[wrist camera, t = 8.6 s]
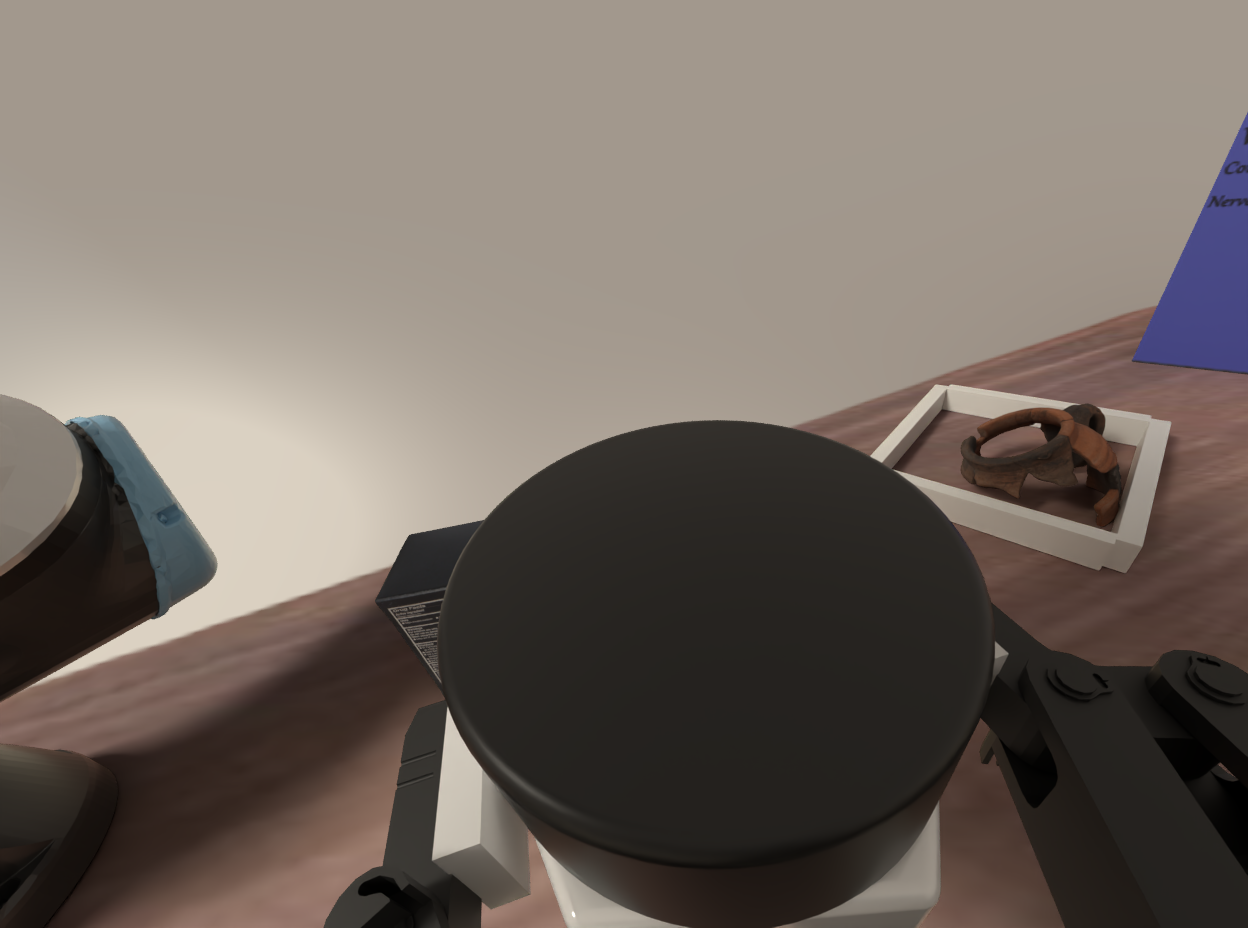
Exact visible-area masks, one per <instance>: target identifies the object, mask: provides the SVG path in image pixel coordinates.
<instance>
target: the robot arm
mask: <svg viewBox="0 0 1248 928" xmlns="http://www.w3.org/2000/svg"><path fill="white" fill-rule="evenodd" d="M216 570H217V559H216V557H215V555H214V553H213V552H212V550H211V548H210V547H209V545H208V544H207V542H206V541H205V540H204V538H203V537H202V535H201V534H200V532H199V531H198V529H197V528H196V527H195V525H194V524H193V522H192V521H191V520H190V518H189V517H188V515H187V514H186V512H185V511H184V510H183V508H182V506H181V505H180V504H179V502H178V501H177V499H176V498H175V496H174V495H173V494H172V492H171V491H170V489H169V488H168V487H167V485H166V484H165V483H164V481H163V479H162V478H161V477H160V475H159V474H158V472H157V471H156V470H155V468H154V467H153V465H152V464H151V463H150V461H149V460H148V459H147V457H146V455H145V454H144V453H143V451H142V450H141V448H140V447H139V446H138V444H137V443H136V441H135V440H134V439H133V437H132V436H131V435H130V433H129V432H128V430H127V429H126V428H125V426H124V425H123V424H122V423H121V422H120V421H118V420H117V419H116V418H115V417H111V416H105V415H99V416H94V417H89V418H83V417H77V418H75V419H70V420H68V421H67V422H66V423H65V425H64V424H63V423H62V422H60V421H59V420H58V419H56V418H55V417H54V416H52V415H50V414H49V413H47V412H46V411H44V410H42V409H41V408H39V407H37V406H34V405H32V404H30V403H27V402H25V401H23V400H20V399H16V398H12V397H9V396H5V395H0V702H2V701H4V700H5V699H7V698H9V697H11V696H13V695H14V694H16V693H18V692H20V691H22V690H23V689H25V688H27V687H29V686H31V685H32V684H34V683H36V682H38V681H39V680H41V679H43V678H45V677H47V676H48V675H50V674H52V673H53V672H56V671H57V670H59V669H61V668H63V667H64V666H66V665H68V664H70V663H72V662H73V661H75V660H77V659H78V658H80V657H82V656H84V655H86V654H88V653H90V652H91V651H93V650H95V649H96V648H98V647H100V646H102V645H104V644H106V643H107V642H109V641H111V640H113V639H114V638H116V637H118V636H120V635H122V634H124V633H125V632H127V631H129V630H131V629H133V628H134V627H136V626H138V625H140V624H142V623H143V622H145V621H147V620H149V619H156V618H159V617H161V616H163V615H164V614H165V613H166V612H167V611H168V610H169V608H170V607H172V606H173V605H175V604H177V603H178V602H180V601H181V600H183V599H185V598H186V597H188V596H190V595H191V594H193V593H194V592H196V591H198V590H199V589H201V588H202V587H204V586H205V585H207V584H208V583H209V582H210V581H211V580H212V578H213V577H214V575H215V573H216ZM991 605H992V611H993V618H994V625H995V661H994V669H993V676H992V682H991V686H990V690H989V694H988V697H987V701H986V704H985V707H984V709H983V712H982V714H981V719H982V720H983V721H984V722H985V723H986V724H987V725H988V726H989V727H990V728H991V729H990V731H989V733H988V735H987V736H986V738H985V740H984V742H983V744H982V747H981V749H980V757H981V763H983V764H988V763H989V761H990V760H991V758H992V756H993V755H994V754H995V756H996V759H997V762H996V764H997V766H1000V769H1001V771H1002V774H1003V776H1004V779H1005V781H1006V783H1007V786H1008V788H1009V791H1010V793H1011V796H1012V798H1013V801H1014V803H1015V806H1016V808H1017V810H1018V813H1019V815H1020V818H1021V820H1022V823H1023V825H1024V828H1025V830H1026V833H1027V835H1028V837H1029V840H1030V842H1031V845H1032V847H1033V850H1034V852H1035V855H1036V857H1037V860H1038V862H1039V864H1040V867H1041V869H1042V872H1043V874H1044V877H1045V879H1046V882H1047V884H1048V886H1049V889H1050V891H1051V894H1052V896H1053V899H1054V901H1055V904H1056V906H1057V909H1058V911H1059V913H1060V916H1061V918H1062V921H1063V923H1064V926H1065V928H1248V674H1247V673H1246V672H1244V671H1243V670H1241V669H1239V668H1238V667H1236V666H1234V665H1232V664H1230V663H1228V662H1225V661H1223V660H1221V659H1219V658H1216V657H1214V656H1211V655H1207V654H1203V653H1199V652H1196V651H1187V650H1173V651H1171V652H1168V653H1165V654H1163V655H1162V656H1161V657H1160V659H1159V660H1158V661H1157V662H1156V663H1155V665H1154V666H1153V667H1141V666H1095V665H1093V664H1091V663H1090V662H1088V661H1086V660H1083V659H1081V658H1079V657H1076V656H1074V655H1072V654H1068V653H1063V652H1058V651H1051V650H1049V649H1048V648H1046V647H1045V646H1044V645H1042V644H1041V643H1039V642H1038V641H1037V640H1035V639H1034V638H1033V637H1032V636H1031V635H1029V634H1028V633H1027V632H1026V631H1025V630H1024V629H1022V628H1021V627H1020V626H1019V625H1018V624H1016V623H1015V622H1014V621H1013V620H1012V619H1010V618H1009V617H1008V616H1007V615H1006V614H1004V613H1003V612H1002V611H1001V610H1000V609H998V608H997V607H996V606H995V605H994V604H992V603H991ZM1220 762H1221V763H1222V764H1223V765H1224V766H1225V767H1226V768H1227V769H1228V770H1229V771H1230V772H1231V773H1232V774H1233V775H1234V776H1235V777H1234V776H1232V775H1230V774H1228V773H1227V772H1226V771H1225V770H1223V769H1222V768H1221V767H1220V766H1219V765H1218V764H1219V763H1220ZM401 764H402V765H401V767H400V769H399V775H398V781H397V786H398V788H397V790H396V792H395V798H394V804H393V809H392V815H391V821H390V826H389V832H388V838H387V844H386V849H385V855H384V861H383V866H381V867H376V868H372V869H371V870H369V871H368V872H366V873H364V874H363V875H361V876H360V877H358V878H357V879H355V881H354V882H353V883H352V884H351V885H350V886H349V887H348V888H347V889H346V890H345V891H344V893H343V894H342V895H341V896H340V897H339V899H338V900H337V902H336V904H335V905H334V907H333V909H332V911H331V912H330V914H329V916H328V917H327V919H326V922H325V925H324V928H481V904H482V902H483V903H484V904H485V905H486V906H488V907H489V908H490V909H493V908H496V907H499V906H501V905H504V904H507V903H509V902H512V901H515V900H517V899H520V898H523V897H525V896H528V895H530V873H529V849H528V828H527V826H526V825H525V824H524V822H523V821H522V820H521V818H520V817H519V816H518V815H517V813H516V812H515V811H514V809H513V808H512V807H511V805H510V804H509V803H508V802H507V800H506V799H505V798H504V796H503V795H502V794H501V792H500V791H499V790H498V789H497V787H496V786H495V785H494V783H493V782H492V781H491V779H490V778H489V777H488V776H487V774H486V773H485V772H484V770H483V769H482V768H481V766H480V765H479V764H478V762H477V761H476V760H475V758H474V757H473V756H472V754H471V753H470V751H469V750H468V748H467V746H466V745H465V743H464V741H463V739H462V738H461V736H460V734H459V732H458V730H457V728H456V726H455V724H454V721H453V719H452V717H451V714H450V711H449V709H448V706H447V703H446V700H444V701H441V702H438V703H435V704H431V705H428V706H425V707H422V708H419V709H418V711H417V713H416V715H415V717H414V719H413V721H412V723H411V725H410V727H409V729H408V731H407V733H406V735H405V741H404V746H403V752H402V758H401ZM117 797H118V787H117V781H116V778H115V776H114V775H113V773H112V772H111V771H110V770H109V769H108V768H106V767H104V766H102V765H100V764H99V763H97V762H95V761H93V760H91V759H90V758H88V757H86V756H84V755H82V754H79V753H76V752H73V751H67V750H48V749H42V748H35V747H27V746H19V745H11V744H1V743H0V928H43V926H44V925H45V924H46V923H47V922H48V920H49V919H50V918H51V917H52V915H53V914H54V913H55V912H56V910H57V909H58V908H59V906H60V905H61V904H62V903H63V901H64V900H65V899H66V897H67V896H68V895H69V893H70V892H71V890H72V889H73V888H74V886H75V885H76V883H77V882H78V880H79V879H80V878H81V876H82V875H83V873H84V872H85V870H86V868H87V867H88V865H89V864H90V862H91V860H92V859H93V857H94V855H95V854H96V852H97V850H98V848H99V846H100V844H101V843H102V841H103V839H104V837H105V834H106V832H107V830H108V828H109V825H110V823H111V820H112V817H113V814H114V811H115V807H116V803H117Z"/></svg>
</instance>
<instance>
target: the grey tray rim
mask: <svg viewBox="0 0 1248 928" xmlns="http://www.w3.org/2000/svg"><path fill="white" fill-rule="evenodd" d="M1071 405H1080V404H1074V403H1067V402H1061V401H1055V400H1048V399H1042V398H1035V397H1029V396H1022V395H1016V394H1010V393H1003V392H997V391H990V390H984V389H977V388H971V387H965V386H958V385H952V384H950V385H949V387H948V386H942V385H935V386H934V387H933V388H932V389H931V390H930V392H929V393H928V394H927V395H926V396H925V397H924V398H923V399H922V400H921V401H920V402H919V404H918V405H917V406H916V407H915V408H914V409H913V410H912V411H911V412H910V413H909V414H908V416H907V417H906V418H905V419H904V420H903V421H902V422H901V423H900V424H899V425H898V426H897V428H896V429H895V430H894V431H893V432H892V433H891V434H890V435H889V436H888V437H887V438H886V440H885V441H884V442H883V443H882V444H881V445H880V446H879V447H878V448H877V449H876V450H875V452H874V453H873V454H872V455H871V456H870V457H872V458H874V459H876V460H878V461H880V462H882V463H883V464H885V465H886V466H888V467H890V468H891V469H892V468H893V467H894V465H895V464H896V463H897V462H898V461H899V459H900V458H901V457H902V456H903V455H904V453H905V452H906V451H907V450H908V449H909V448H910V446H911V445H912V444H913V443H914V442H915V440H916V439H917V438H918V437H919V436H920V434H921V433H922V432H923V431H924V430H925V429H926V427H927V426H928V425H929V424H930V423H931V421H932V420H933V419H934V418H935V417H936V415H937V414H938V413H939V412H940V411H941V410H942V409H943V410H948V411H954V412H959V413H964V414H970V415H975V416H980V417H985V418H991V419H994V418H996V417H1000V416H1002V415H1004V414H1007V413H1010V412H1015V411H1019V410H1023V409H1029V408H1040V407H1041V408H1043V407H1044V408H1055V409H1060V410H1063V409H1065V408H1067V407H1069V406H1071ZM1097 408H1099V409H1100V410H1101V412H1102V413H1103V414H1104V416H1105V419H1106V422H1105V429H1104V432H1103V435H1102V436H1103V438H1104V439H1105V440H1107V441H1112V442H1117V443H1122V444H1128V445H1133V446H1137V447H1136V450H1135V454H1134V457H1133V460H1132V464H1131V467H1130V470H1129V474H1128V477H1127V480H1126V484H1125V487H1124V490H1123V494H1122V497H1121V500H1120V508H1119V510H1118V513H1117V515H1116V517H1115V520H1114V524H1113V527H1112V530H1111V532H1109V531H1105V530H1102V529H1098V528H1095V527H1091V526H1088V525H1084V524H1081V523H1077V522H1074V521H1071V520H1067V519H1064V518H1060V517H1057V516H1053V515H1050V514H1046V513H1043V512H1039V511H1036V510H1032V509H1029V508H1025V507H1022V506H1018V505H1015V504H1011V503H1008V502H1004V501H1001V500H997V499H994V498H990V497H987V496H983V495H980V494H976V493H973V492H969V491H966V490H962V489H959V488H955V487H952V486H948V485H945V484H941V483H938V482H934V481H931V480H927V479H924V478H920V477H917V476H913V475H910V474H906V473H903V472H899V471H896V470H894V471H896V472H898V473H899V474H900V475H902V476H903V477H904V478H906V479H907V480H908V481H910V482H911V483H913V484H914V485H915V486H916V487H917V488H919V489H920V490H921V491H922V492H923V493H924V494H925V495H927V496H928V497H929V498H930V499H931V500H932V501H933V502H934V503H935V504H936V505H937V506H938V507H939V508H940V510H941V511H942V512H943V513H944V514H945V515H946V516H947V517H948V519H949V520H950V521H951V522H954V523H957V524H960V525H963V526H966V527H969V528H972V529H975V530H978V531H981V532H984V533H987V534H990V535H993V536H996V537H999V538H1002V539H1005V540H1008V541H1011V542H1014V543H1017V544H1020V545H1023V546H1026V547H1029V548H1032V549H1035V550H1038V551H1041V552H1044V553H1047V554H1050V555H1053V556H1056V557H1059V558H1062V559H1065V560H1068V561H1071V562H1074V563H1077V564H1080V565H1083V566H1086V567H1089V568H1092V569H1095V570H1098V571H1099V570H1100V569H1101V567H1102V566H1104V567H1107V568H1110V569H1113V570H1116V571H1119V572H1122V573H1125V574H1126V572H1127V571H1128V569H1129V568H1130V566H1131V564H1132V563H1133V561H1134V560H1135V558H1136V557H1137V555H1138V553H1139V552H1140V550H1141V549H1142V547H1143V543H1144V539H1145V534H1146V530H1147V526H1148V521H1149V517H1150V513H1151V508H1152V504H1153V500H1154V495H1155V491H1156V487H1157V482H1158V478H1159V474H1160V469H1161V465H1162V461H1163V456H1164V452H1165V448H1166V444H1167V439H1168V435H1169V431H1170V426H1171V422H1169V421H1163V420H1156V419H1151V415H1145V414H1138V413H1132V412H1125V411H1119V410H1112V409H1106V408H1100V407H1097ZM1031 426H1033V427H1038V428H1040V427H1041V423H1035V424H1034V425H1031Z"/></svg>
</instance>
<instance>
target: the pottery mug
mask: <svg viewBox="0 0 1248 928" xmlns="http://www.w3.org/2000/svg"><path fill="white" fill-rule="evenodd" d="M1105 422H1106V419H1105V416H1104V414H1103V413H1102V412H1101V410H1100V409H1099V408H1097V407H1096V406H1093V405H1091V404H1082V405H1071V406H1069V407H1067V408H1065V409H1063V410H1060V409H1055V408H1044V407H1043V408H1041V407H1040V408H1029V409H1023V410H1019V411H1015V412H1010V413H1007V414H1004V415H1002V416H1000V417H996V418H994V419H992V420H990V421H988V422H986V423H984V424H982V425H981V426H979V427H978V428H977V430H978V432H979V434H980V435H981V437H980V438H979V439H978V440H976V438H975V437H974V436H971V437H969V438H968V439H966V440H964V441H963V442H962V445H961V454H962V456H963V457H964V459H963V461H962V465H961V473H962V475H963V477H964V478H965V479H966V480H967V481H968V482H969V483H971V484H977V485H979V486H982V487H986V488H998V489H1002V490H1004V491H1006V492H1007V493H1008V494H1010V495H1011V496H1013V497H1015V498H1020V489H1021V487H1022V485H1023V483H1024V480H1025V478H1026V476H1027V474H1028V473H1030V474H1032V475H1033V476H1034V477H1036V478H1037V479H1039V480H1042V481H1046V482H1052V483H1055V484H1058V485H1060V486H1073V485H1076V484H1078V481H1077V479H1076V477H1075V475H1074V473H1073V470H1074V468H1076V467H1082V466H1086V465H1087V474H1088V477H1087V481H1086V485H1087V486H1088V487H1090V488H1093V489H1096V490H1098V491H1100V492H1102V493H1104V494H1105V496H1104V497H1103V498H1102V499H1101V500H1100V501H1099V502H1098V503H1096V504H1095V505H1094V509H1095V511H1096V513H1097V514H1098V515H1097V518H1096V523H1097V525H1098V526H1101V527H1102V526H1106V525H1107V524H1108V523H1110V522H1111V521H1112V520H1113V519H1114V518H1115V516H1116V515H1117V513H1118V510H1119V508H1120V504H1119V498H1120V494H1121V492H1122V489H1121V481H1120V479H1121V475H1120V472H1119V465H1118V463H1117V457H1116V454H1115V453H1114V452H1113V451H1112V448H1111V447H1110V445H1109V444H1108V443H1107V442H1106V440H1105V439H1104V438H1103V436H1102V435H1103V432H1104V429H1105ZM1035 423H1041V427H1040V429H1041V430H1042V432H1044V434H1045V438H1046V440H1047V442H1048V443H1047V444H1045V445H1043V446H1041V447H1039V448H1037V449H1035V450H1032V451H1030V452H1027V453H1024V454H1021V455H1017V456H1012V457H1006V458H985V457H981V454H980V449H981V446H982V445H983V444H984V443H986V442H987V441H989V440H990V439H992V438H994V437H996V436H998V435H999V434H1001V433H1004V432H1007V431H1010V430H1013V429H1017V428H1020V427H1024V426H1031V425H1034V424H1035Z"/></svg>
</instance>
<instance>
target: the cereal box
mask: <svg viewBox="0 0 1248 928" xmlns="http://www.w3.org/2000/svg"><path fill="white" fill-rule="evenodd" d="M1132 362H1141V363H1150V364H1159V365H1168V366H1177V367H1186V368H1195V369H1204V370H1213V371H1223V372H1232V373H1241V374H1248V113H1247V115H1246V117H1245V120H1244V121H1243V124H1242V126H1241V128H1240V130H1239V132H1238V134H1237V136H1236V139H1235V141H1234V143H1233V145H1232V147H1231V149H1230V152H1229V154H1228V156H1227V158H1226V160H1225V162H1224V164H1223V166H1222V169H1221V171H1220V173H1219V175H1218V177H1217V179H1216V182H1215V184H1214V186H1213V188H1212V190H1211V192H1210V194H1209V197H1208V199H1207V201H1206V203H1205V205H1204V207H1203V209H1202V212H1201V214H1200V216H1199V218H1198V221H1197V222H1196V224H1195V227H1194V229H1193V231H1192V233H1191V235H1190V237H1189V240H1188V242H1187V244H1186V246H1185V248H1184V250H1183V252H1182V254H1181V257H1180V259H1179V261H1178V263H1177V265H1176V267H1175V269H1174V272H1173V274H1172V276H1171V278H1170V280H1169V282H1168V285H1167V287H1166V289H1165V291H1164V293H1163V295H1162V297H1161V300H1160V302H1159V304H1158V306H1157V308H1156V310H1155V312H1154V315H1153V317H1152V319H1151V321H1150V323H1149V325H1148V327H1147V330H1146V332H1145V334H1144V336H1143V338H1142V340H1141V342H1140V345H1139V347H1138V349H1137V351H1136V353H1135V355H1134V357H1133V360H1132Z"/></svg>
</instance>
